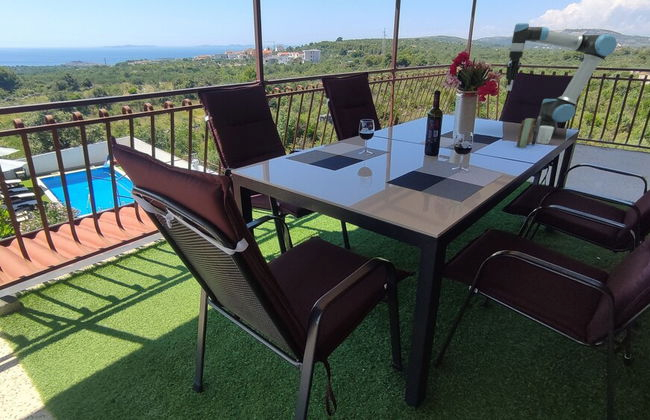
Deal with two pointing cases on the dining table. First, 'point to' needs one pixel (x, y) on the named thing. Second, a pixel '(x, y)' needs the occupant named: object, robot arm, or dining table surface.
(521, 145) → the frame
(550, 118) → the robot arm
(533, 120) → the brown green flat panel
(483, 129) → the dining table surface
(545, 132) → the white cup
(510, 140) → the dining table surface
